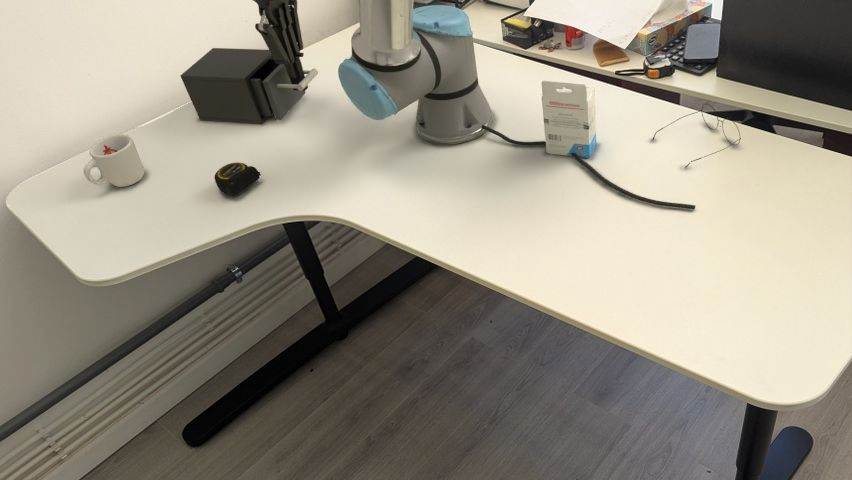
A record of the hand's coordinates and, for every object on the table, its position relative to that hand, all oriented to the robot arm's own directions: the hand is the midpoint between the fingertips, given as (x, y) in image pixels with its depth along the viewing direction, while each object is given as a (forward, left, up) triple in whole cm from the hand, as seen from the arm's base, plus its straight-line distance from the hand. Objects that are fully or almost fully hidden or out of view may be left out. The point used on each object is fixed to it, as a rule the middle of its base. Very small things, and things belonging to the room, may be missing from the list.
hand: (301, 88), depth 152 cm
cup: (+26, +30, -6) cm, 40 cm away
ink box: (-59, +8, -6) cm, 60 cm away
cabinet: (+16, 0, -5) cm, 17 cm away
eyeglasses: (-81, +4, -6) cm, 82 cm away
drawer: (+7, 0, -4) cm, 9 cm away
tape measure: (0, +28, -6) cm, 28 cm away
